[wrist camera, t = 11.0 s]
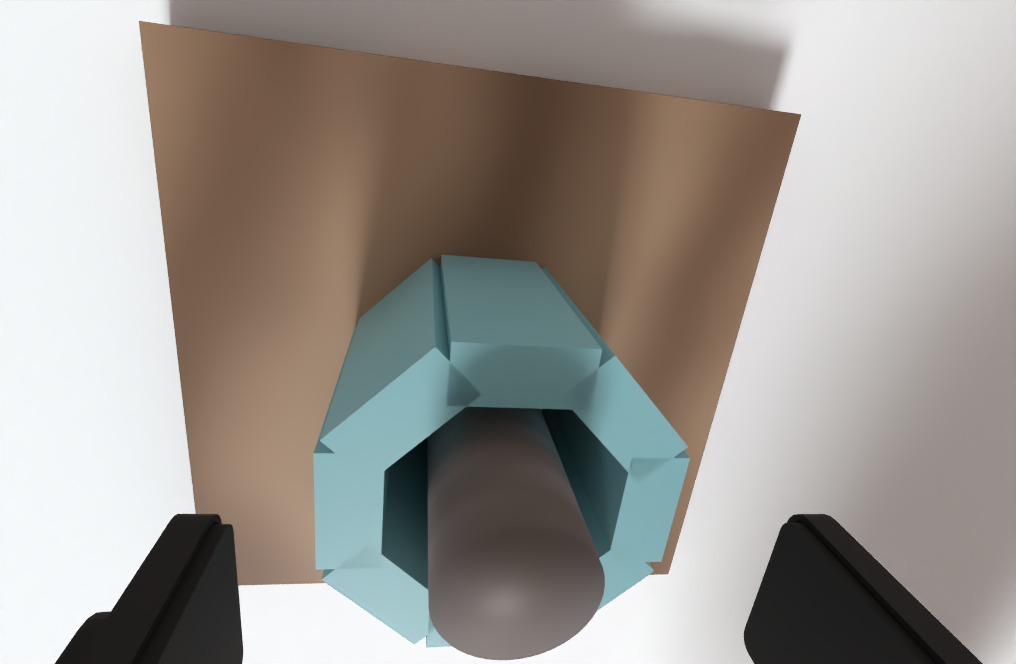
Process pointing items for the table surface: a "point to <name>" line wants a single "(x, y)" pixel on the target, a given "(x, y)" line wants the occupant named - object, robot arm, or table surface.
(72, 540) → the table surface
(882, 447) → the table surface
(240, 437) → the post stand
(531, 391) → the ring
